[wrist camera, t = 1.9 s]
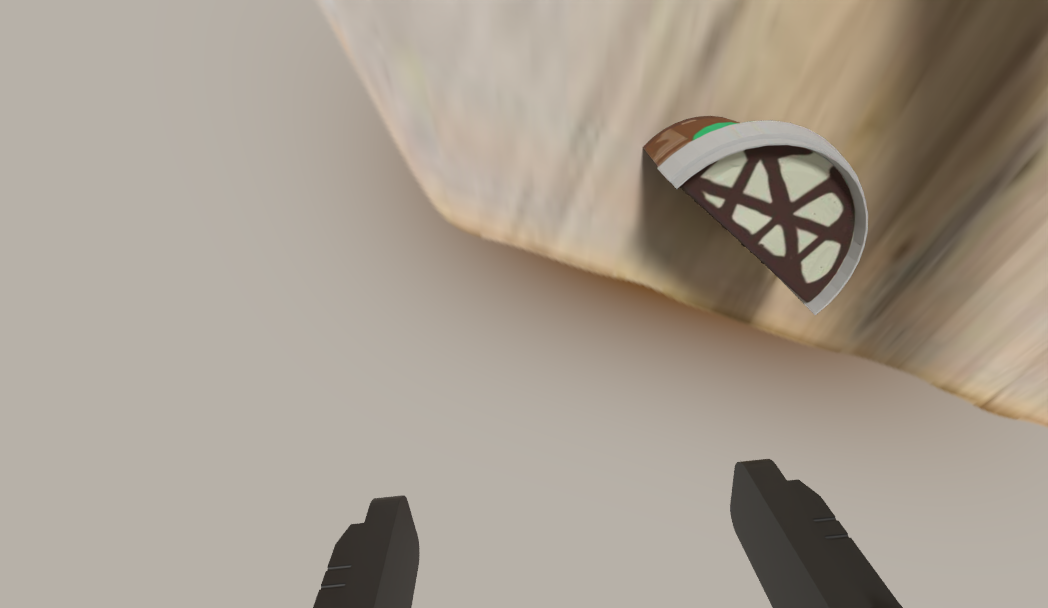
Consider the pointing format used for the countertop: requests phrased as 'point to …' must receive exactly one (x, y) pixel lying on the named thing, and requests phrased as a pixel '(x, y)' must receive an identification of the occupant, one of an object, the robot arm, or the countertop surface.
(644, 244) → the countertop surface
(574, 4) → the countertop surface
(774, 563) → the robot arm
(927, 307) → the countertop surface
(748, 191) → the food container
